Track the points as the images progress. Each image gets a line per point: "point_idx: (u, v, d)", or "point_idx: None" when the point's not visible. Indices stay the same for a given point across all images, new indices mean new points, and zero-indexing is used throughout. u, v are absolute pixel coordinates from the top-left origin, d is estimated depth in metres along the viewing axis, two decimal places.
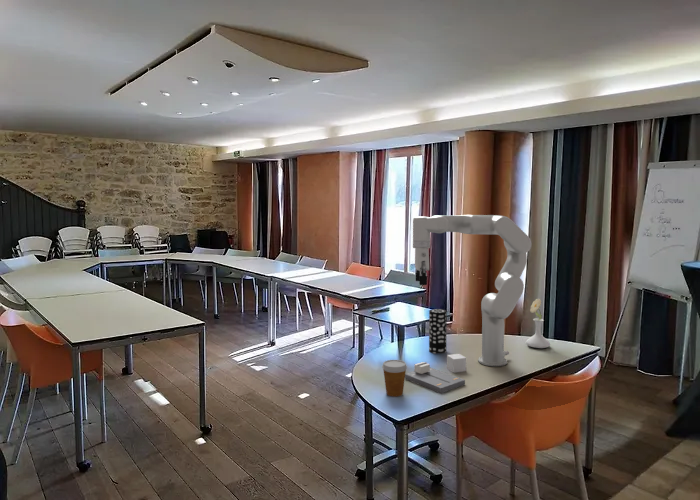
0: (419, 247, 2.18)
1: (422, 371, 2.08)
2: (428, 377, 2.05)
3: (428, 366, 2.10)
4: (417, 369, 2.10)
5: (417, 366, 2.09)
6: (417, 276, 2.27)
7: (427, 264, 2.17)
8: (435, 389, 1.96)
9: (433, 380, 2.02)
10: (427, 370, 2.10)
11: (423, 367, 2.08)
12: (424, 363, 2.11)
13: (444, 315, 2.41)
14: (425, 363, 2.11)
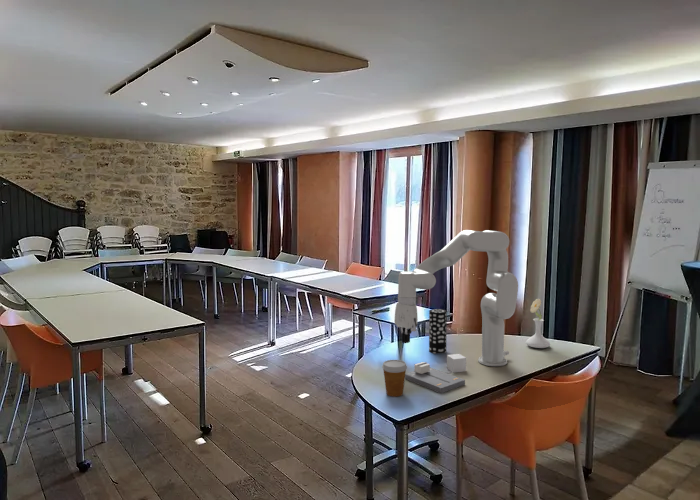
0: None
1: (422, 371, 2.08)
2: (428, 377, 2.05)
3: (428, 366, 2.10)
4: (417, 369, 2.10)
5: (417, 366, 2.09)
6: None
7: None
8: (435, 389, 1.96)
9: (433, 380, 2.02)
10: (427, 370, 2.10)
11: (423, 367, 2.08)
12: (424, 363, 2.11)
13: (444, 315, 2.41)
14: (425, 363, 2.11)
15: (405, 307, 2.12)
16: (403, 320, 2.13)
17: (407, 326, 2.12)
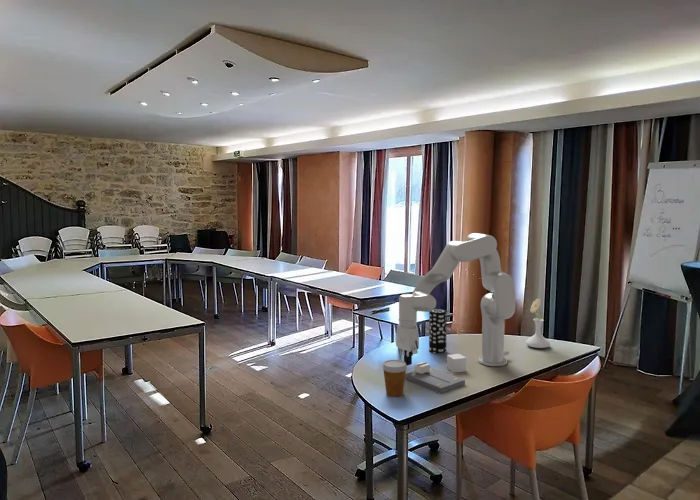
0: None
1: (422, 371, 2.08)
2: (428, 377, 2.05)
3: (428, 366, 2.10)
4: (417, 369, 2.10)
5: (417, 366, 2.09)
6: None
7: None
8: (435, 389, 1.96)
9: (433, 380, 2.02)
10: (427, 370, 2.10)
11: (423, 367, 2.08)
12: (424, 363, 2.11)
13: (444, 315, 2.41)
14: (425, 363, 2.11)
15: (406, 329, 2.13)
16: (404, 343, 2.14)
17: (408, 349, 2.12)
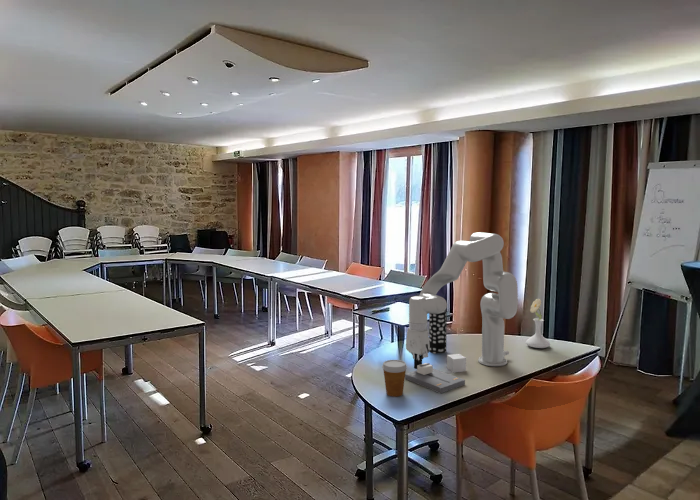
0: None
1: (425, 372, 2.07)
2: (428, 377, 2.05)
3: (431, 367, 2.09)
4: (420, 370, 2.08)
5: (420, 367, 2.08)
6: None
7: None
8: (435, 389, 1.96)
9: (433, 380, 2.02)
10: (430, 371, 2.09)
11: (426, 368, 2.07)
12: (427, 364, 2.10)
13: (444, 315, 2.41)
14: (428, 364, 2.10)
15: (417, 333, 2.08)
16: (415, 346, 2.09)
17: (419, 352, 2.07)
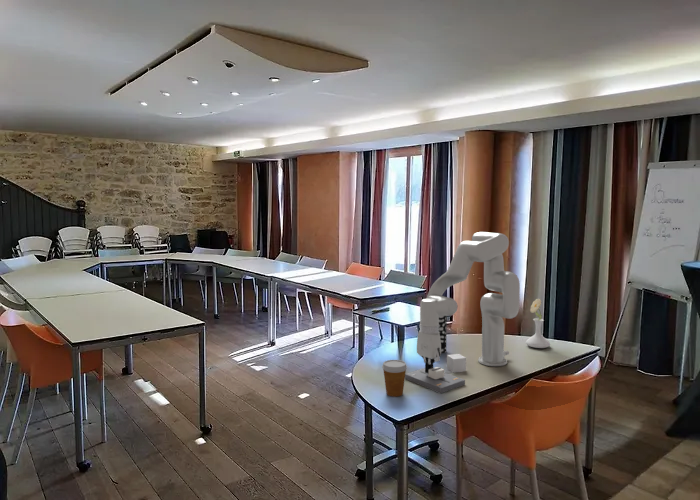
0: None
1: (436, 376, 2.02)
2: (428, 377, 2.05)
3: (443, 371, 2.04)
4: (431, 374, 2.03)
5: (431, 371, 2.03)
6: None
7: None
8: (435, 389, 1.96)
9: (433, 380, 2.02)
10: (442, 375, 2.04)
11: (437, 372, 2.02)
12: (438, 368, 2.05)
13: None
14: (439, 368, 2.05)
15: (428, 336, 2.03)
16: (426, 350, 2.04)
17: (430, 356, 2.02)
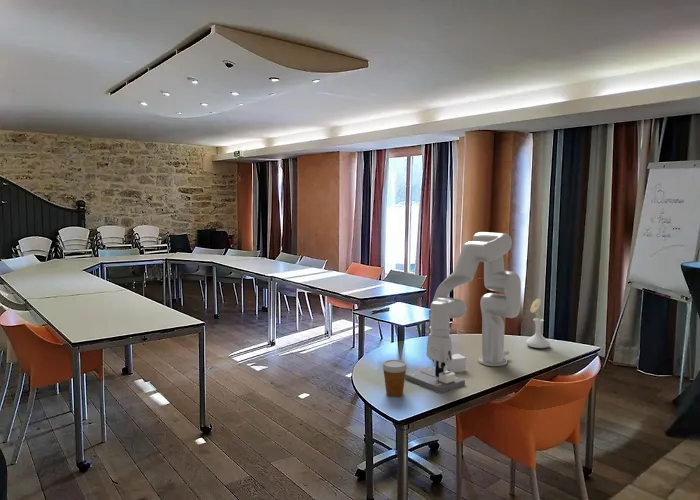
0: None
1: (447, 380, 1.97)
2: (428, 377, 2.05)
3: (453, 375, 1.99)
4: (442, 378, 1.99)
5: (442, 375, 1.98)
6: None
7: None
8: (435, 389, 1.96)
9: (433, 380, 2.02)
10: (452, 379, 1.99)
11: (448, 376, 1.97)
12: (449, 372, 2.00)
13: None
14: (450, 372, 2.00)
15: (439, 339, 1.98)
16: (436, 353, 2.00)
17: (441, 360, 1.98)
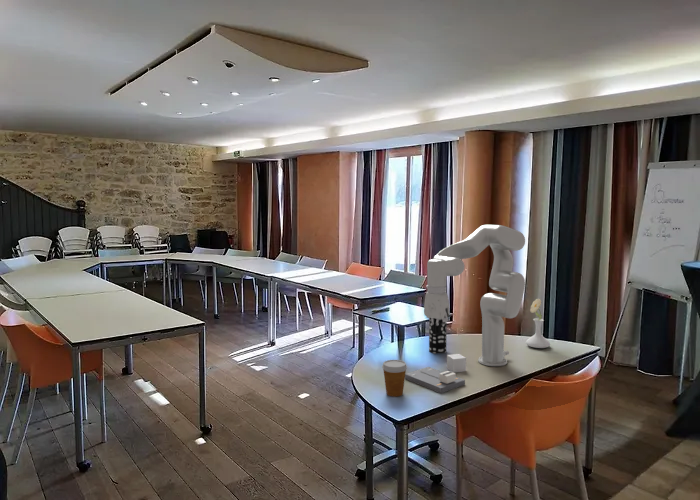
0: None
1: (448, 381, 1.97)
2: (428, 377, 2.05)
3: (454, 375, 1.99)
4: (442, 378, 1.98)
5: (442, 375, 1.98)
6: None
7: None
8: (435, 389, 1.96)
9: (433, 380, 2.02)
10: (453, 379, 1.99)
11: (448, 376, 1.97)
12: (449, 372, 2.00)
13: None
14: (450, 372, 2.00)
15: (436, 296, 1.99)
16: (434, 311, 2.01)
17: (439, 317, 1.99)
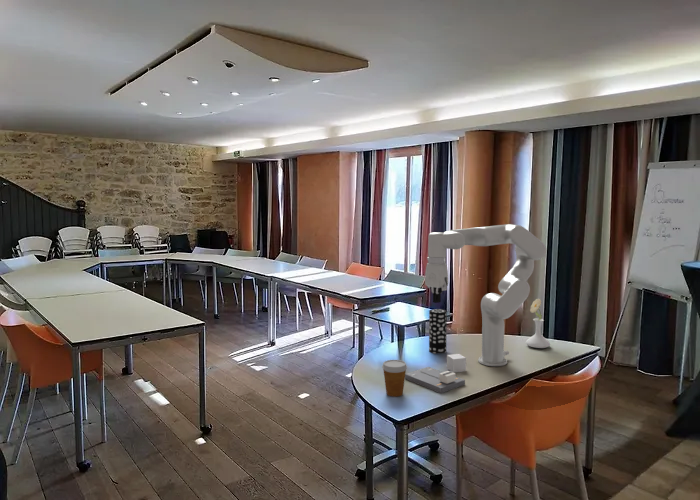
0: None
1: (448, 381, 1.97)
2: (428, 377, 2.05)
3: (454, 375, 1.99)
4: (442, 378, 1.98)
5: (442, 375, 1.98)
6: None
7: None
8: (435, 389, 1.96)
9: (433, 380, 2.02)
10: (453, 379, 1.99)
11: (448, 376, 1.97)
12: (449, 372, 2.00)
13: (444, 315, 2.41)
14: (450, 372, 2.00)
15: (436, 266, 2.15)
16: (434, 280, 2.17)
17: (438, 285, 2.15)
